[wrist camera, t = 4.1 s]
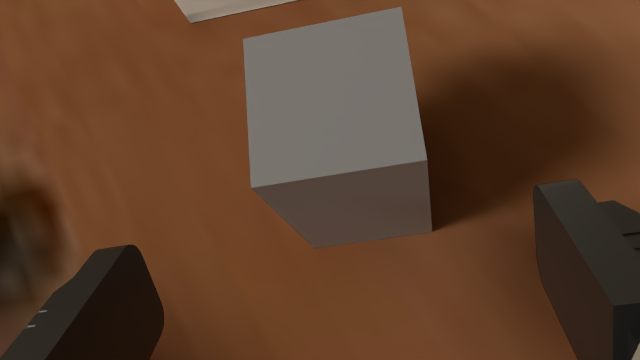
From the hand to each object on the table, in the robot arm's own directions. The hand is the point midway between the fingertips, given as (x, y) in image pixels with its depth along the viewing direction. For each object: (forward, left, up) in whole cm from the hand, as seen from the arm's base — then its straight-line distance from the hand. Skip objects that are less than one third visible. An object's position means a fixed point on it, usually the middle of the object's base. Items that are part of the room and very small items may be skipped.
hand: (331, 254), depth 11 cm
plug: (0, -5, -9) cm, 10 cm away
